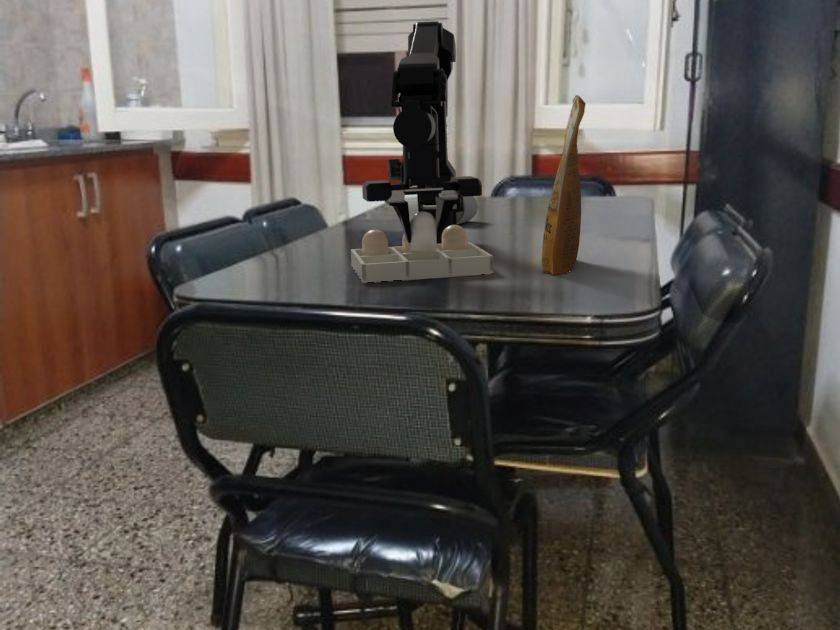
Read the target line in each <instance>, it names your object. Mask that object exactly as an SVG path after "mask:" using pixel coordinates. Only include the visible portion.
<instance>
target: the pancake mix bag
mask: <svg viewBox="0 0 840 630" xmlns="http://www.w3.org/2000/svg"><path fill="white" fill-rule="evenodd" d="M585 109H586V102H585V101H584V100H583V98H582V97H580V96H579V95H577V94H576V95H575V96H574V97H573V99H572V105H571V109H570V113H569V116H568V120H567V124H566V128H565V135H564V138H563V139H564V140H563V141H564V142H563V147H562V154H561V156H560V161H559V165H558V168H557V172H556V174H555V175H556V176H555V179H554V183H553V186H552V191H551V194H550V200H549V204H548V207H547V213H546V216H545V217H546V218H545V222H544V223H545V224H544V230H543V237H542V246H541V247H542V249H541V250H542V252H541V267H542V272H543V273H544V272H545V274H551V275H554V276H555V275H557V274H559V275H563V274H562V273H566V274H568V273H567V272H569V271H571V272H572V270H573V268H574V266H575V263H576V262H577V258H578V253H579V247H580V241H581V240H580V239H581V228H582V227H581V224H582V190H581V178H580V167H579V166H580V163H579V161H580V160H579V152H578V151H579V150H578V137H579V136H578V134H579V130H580V125H581V122H582V120H583V117H584V115H585V111H586V110H585ZM569 273H570V272H569Z"/></svg>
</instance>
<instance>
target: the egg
mask: <svg viewBox="0 0 840 630" xmlns="http://www.w3.org/2000/svg"><path fill="white" fill-rule="evenodd" d="M410 227H411V243H410V250H411V251H417V252H426V251H434V250H436V249H437V231H436V220H435V218H434V217H433V216H432V215H431V214H430V213H428V212H424V211H422V212H416V213H414V214H413V215H412V216H411V218H410Z"/></svg>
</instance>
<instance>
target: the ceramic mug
mask: <svg viewBox="0 0 840 630" xmlns="http://www.w3.org/2000/svg"><path fill="white" fill-rule="evenodd" d="M463 199H464V211H461V212H457V225H458V226H459V225H461V224H463V223H467V222H469V221H470V220H472V219H473V218H474V217H475V216H476V215H477V212H478V201H477V200H476V198H475V196H469V197H464V196H463ZM454 206H457V204H454Z"/></svg>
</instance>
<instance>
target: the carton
mask: <svg viewBox="0 0 840 630" xmlns="http://www.w3.org/2000/svg"><path fill="white" fill-rule="evenodd" d="M401 239H402V241H401V242H402V243H401V244H402V246H399V245H398V246H389V242H388V241H389V240H388V237H387V235H386V234H385V233H384V232H383V231H381V230H379V229H370V230H369V231H367V232H365V233H364V235H363V237H362V240H361V245H362V246H361V247H362V248H351V249H350V258H351V259H350V263H351V268H352V267H353V268H352V269H353V270H355V271H354V272H355V274H356V273H357V274H356V275H357V277H358V276H359V277H358V278H359V280H360V279H361V280H360V282H361V283H362V284H368V283H367V282H374V283H382V282H381V281H388V282H394V281H393V280H402V281H414V280H426V279H427V280H428V279H430V280H431V279H443V278H453V277H455V278H456V277H467V276H468V277H470V276H480V275H481V274H485V275H492V274H491V273H493V274H494V255H492V254H490V253H489V252H487V251H486V250H484V249H482V248H481V247H479V246H477V245H476V244H474V243H473V242H471V241H468V235H467V232H466V230H465V229H464V228H463V227H462V226H460V225H459V224H458V225H450V226H448V227H447V228H445V230H444V231H443V233H442V243H438V244H437V249H436V250H434V251H426V252H417V251H411V250H410V243H408V242H407V239H406V236H405V234H404V233H403V235H402V238H401ZM481 276H482V275H481Z"/></svg>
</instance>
